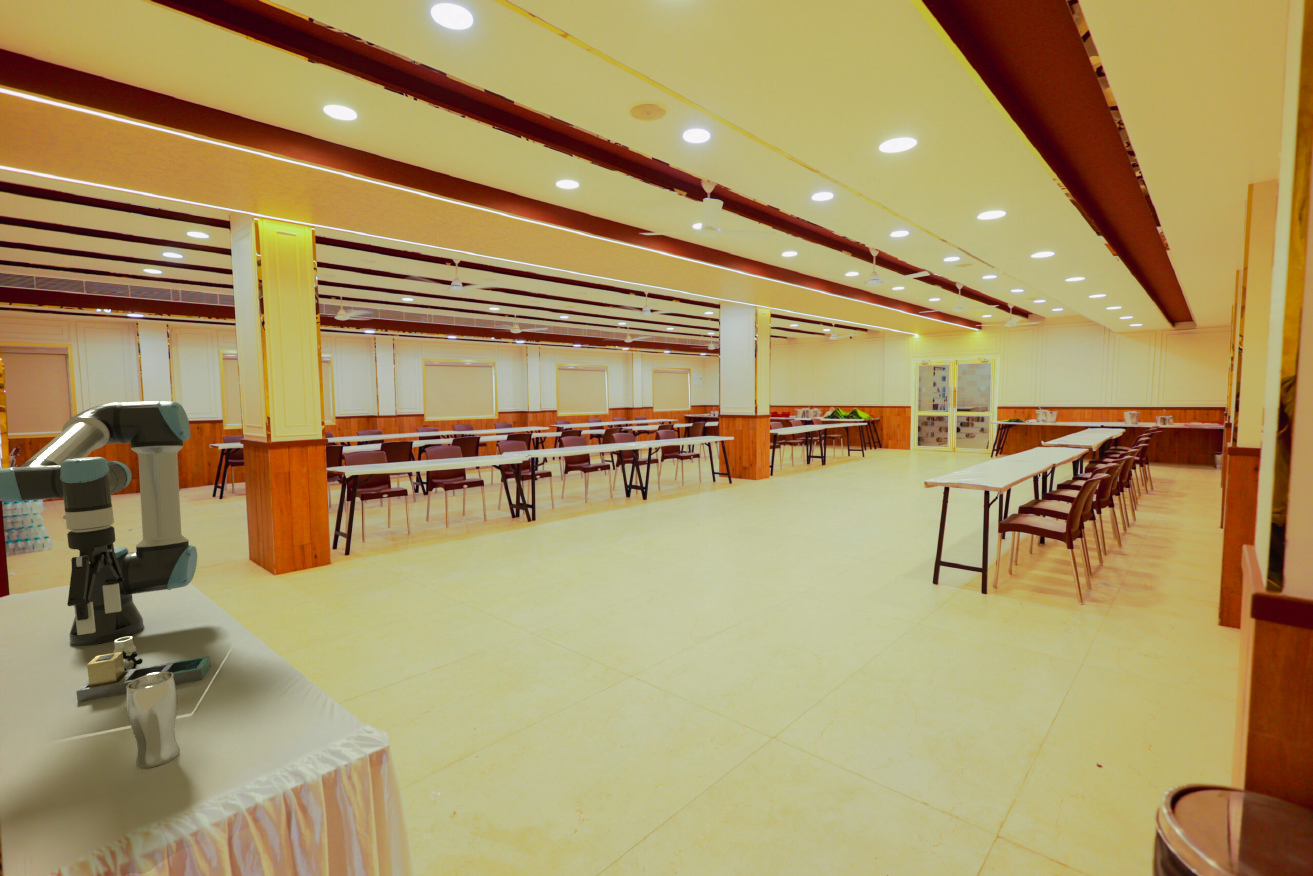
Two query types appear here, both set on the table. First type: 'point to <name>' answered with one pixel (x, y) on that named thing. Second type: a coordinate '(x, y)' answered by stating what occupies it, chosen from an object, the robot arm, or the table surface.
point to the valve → (127, 651)
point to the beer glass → (153, 718)
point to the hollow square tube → (106, 669)
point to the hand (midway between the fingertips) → (100, 622)
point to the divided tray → (180, 669)
